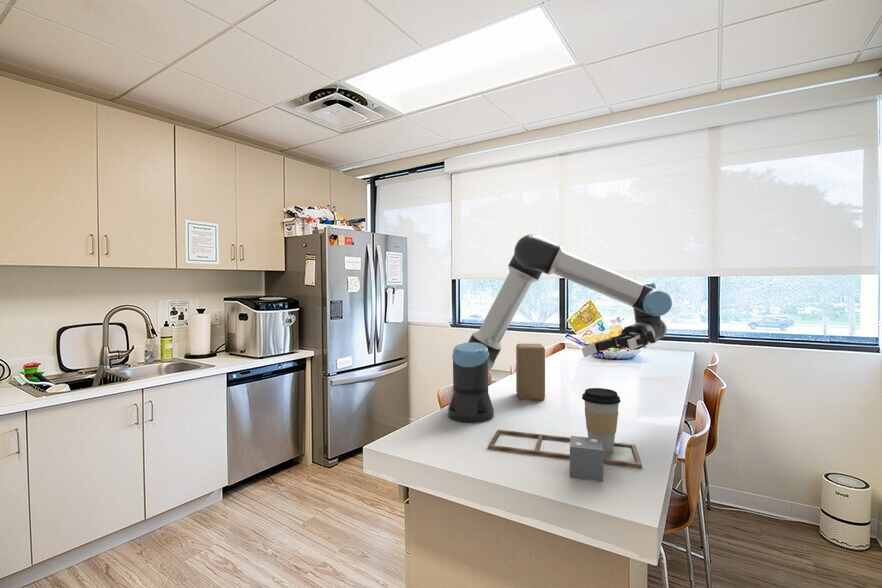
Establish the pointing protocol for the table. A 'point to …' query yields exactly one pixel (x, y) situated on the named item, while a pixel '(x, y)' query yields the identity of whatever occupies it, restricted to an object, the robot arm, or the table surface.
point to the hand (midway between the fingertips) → (605, 348)
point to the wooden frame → (616, 457)
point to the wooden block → (530, 371)
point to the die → (586, 458)
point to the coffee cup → (601, 415)
